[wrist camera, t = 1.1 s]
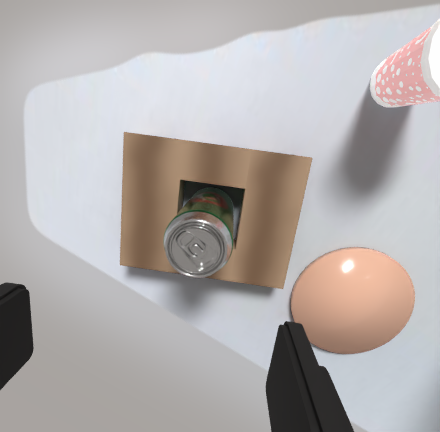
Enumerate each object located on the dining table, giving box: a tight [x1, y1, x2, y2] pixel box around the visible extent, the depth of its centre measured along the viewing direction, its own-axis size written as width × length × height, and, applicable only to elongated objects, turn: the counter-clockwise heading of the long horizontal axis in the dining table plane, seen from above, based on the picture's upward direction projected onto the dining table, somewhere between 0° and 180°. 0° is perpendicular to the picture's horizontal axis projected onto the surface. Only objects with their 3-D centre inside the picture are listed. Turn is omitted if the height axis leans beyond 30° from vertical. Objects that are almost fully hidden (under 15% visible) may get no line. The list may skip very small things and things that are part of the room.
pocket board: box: [120, 132, 312, 289], centre depth 28 cm, size 18×14×3 cm
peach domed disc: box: [291, 247, 415, 354], centre depth 31 cm, size 14×14×1 cm
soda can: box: [163, 187, 234, 278], centre depth 23 cm, size 5×5×12 cm
